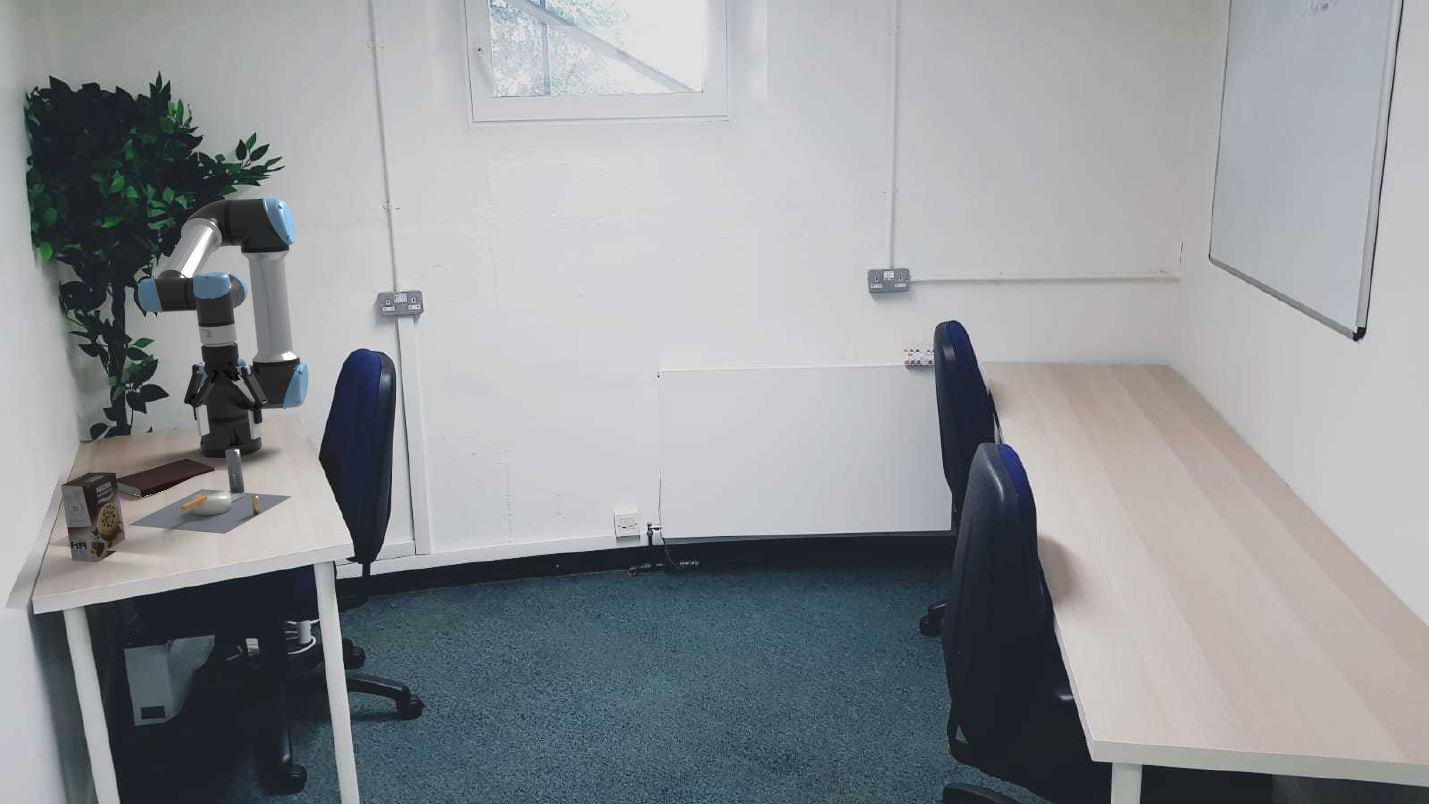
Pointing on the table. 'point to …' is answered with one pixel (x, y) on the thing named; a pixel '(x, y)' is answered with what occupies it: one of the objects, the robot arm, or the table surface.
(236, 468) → the white grey handled piece
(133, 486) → the book
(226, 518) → the dial base plate
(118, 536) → the cookie box
